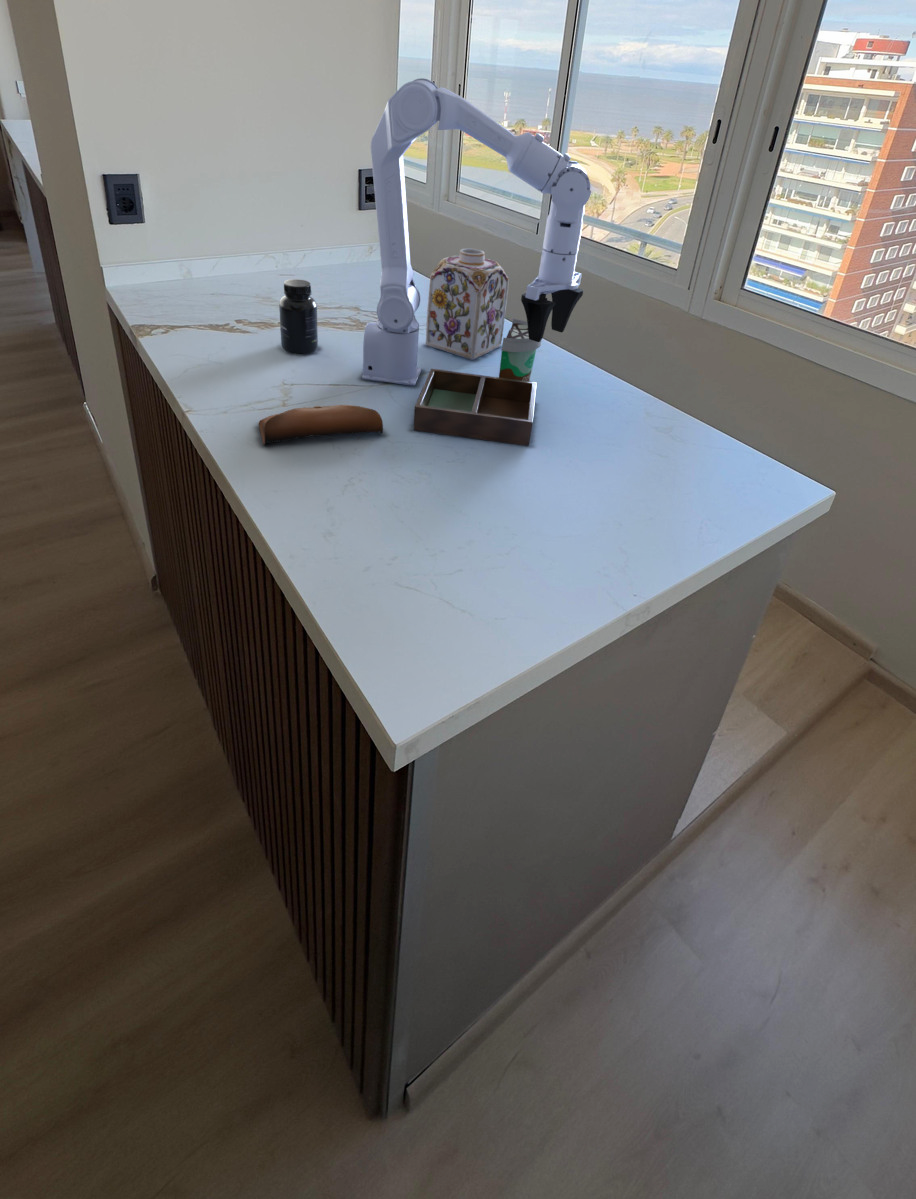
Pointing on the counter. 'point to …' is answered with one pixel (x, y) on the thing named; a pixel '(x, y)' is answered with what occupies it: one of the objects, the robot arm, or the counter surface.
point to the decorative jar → (466, 305)
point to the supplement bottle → (298, 318)
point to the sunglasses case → (319, 422)
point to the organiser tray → (476, 407)
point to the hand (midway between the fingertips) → (546, 335)
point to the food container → (518, 353)
